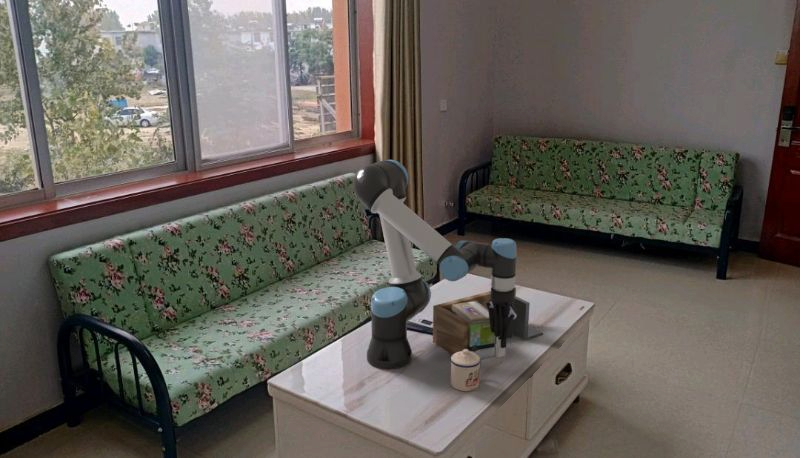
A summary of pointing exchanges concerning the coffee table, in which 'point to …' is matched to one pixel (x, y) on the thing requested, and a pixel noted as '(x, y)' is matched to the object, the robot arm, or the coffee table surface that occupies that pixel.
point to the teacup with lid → (465, 370)
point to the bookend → (523, 320)
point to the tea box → (477, 328)
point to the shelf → (454, 324)
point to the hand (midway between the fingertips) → (500, 355)
